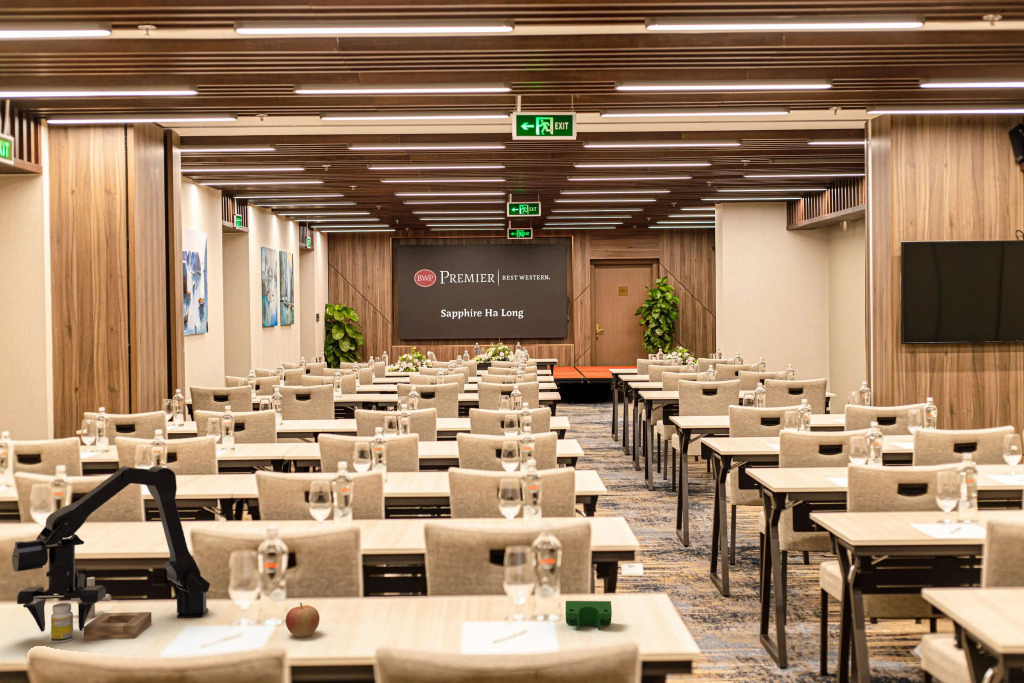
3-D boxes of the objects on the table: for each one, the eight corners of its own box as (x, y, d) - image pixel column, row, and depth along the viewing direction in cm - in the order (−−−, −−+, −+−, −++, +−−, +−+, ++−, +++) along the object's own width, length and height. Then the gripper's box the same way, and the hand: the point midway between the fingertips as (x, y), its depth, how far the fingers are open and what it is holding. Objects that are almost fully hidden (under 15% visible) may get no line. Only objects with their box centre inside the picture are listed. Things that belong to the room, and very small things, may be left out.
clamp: (574, 646, 233) (558, 615, 231) (574, 633, 239) (559, 603, 237) (619, 629, 231) (604, 598, 229) (618, 616, 237) (603, 586, 235)
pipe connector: (119, 611, 253) (119, 573, 253) (99, 622, 243) (99, 583, 243) (83, 611, 254) (82, 573, 254) (61, 621, 244) (61, 582, 244)
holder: (151, 623, 241) (151, 611, 241) (134, 638, 229) (134, 625, 229) (102, 625, 241) (102, 613, 241) (83, 639, 229) (83, 626, 229)
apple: (289, 642, 225) (288, 608, 225) (282, 633, 232) (282, 600, 232) (323, 638, 228) (322, 604, 228) (316, 629, 235) (315, 596, 235)
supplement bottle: (56, 637, 230) (55, 602, 231) (76, 636, 231) (75, 601, 231) (48, 643, 226) (47, 607, 226) (68, 642, 226) (68, 607, 226)
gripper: (114, 557, 237) (114, 620, 237) (37, 558, 236) (37, 622, 236) (96, 567, 226) (96, 633, 226) (15, 568, 225) (15, 635, 225)
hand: (62, 630), depth 228 cm, fingers open, 9 cm apart
